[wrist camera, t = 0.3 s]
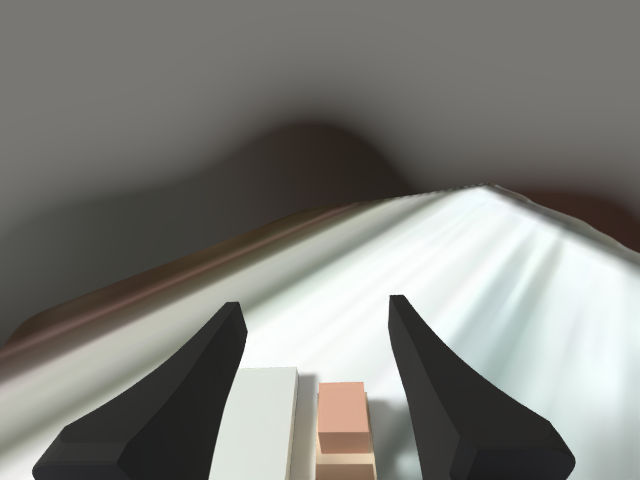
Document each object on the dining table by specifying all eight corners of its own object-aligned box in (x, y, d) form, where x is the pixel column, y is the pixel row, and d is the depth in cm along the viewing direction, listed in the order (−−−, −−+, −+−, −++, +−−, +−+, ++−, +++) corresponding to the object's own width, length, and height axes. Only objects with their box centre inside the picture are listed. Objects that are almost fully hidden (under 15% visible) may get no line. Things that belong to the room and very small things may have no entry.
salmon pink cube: (368, 453, 24) (368, 431, 22) (321, 454, 24) (317, 432, 22) (363, 405, 27) (363, 381, 25) (322, 405, 27) (319, 383, 25)
